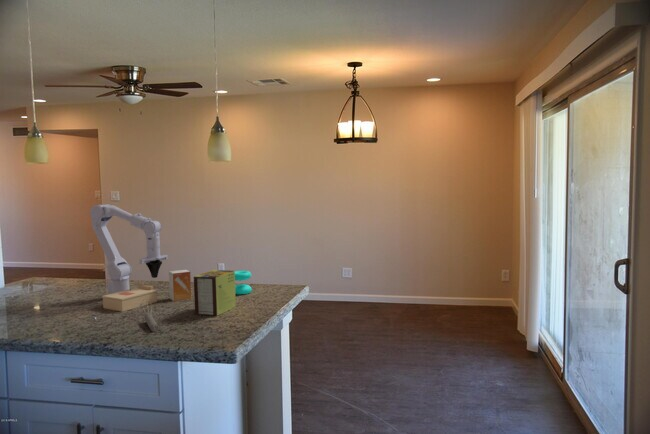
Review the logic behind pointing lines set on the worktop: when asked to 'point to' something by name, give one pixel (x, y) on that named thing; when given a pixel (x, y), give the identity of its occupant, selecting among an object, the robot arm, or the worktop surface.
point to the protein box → (214, 292)
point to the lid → (131, 293)
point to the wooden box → (129, 302)
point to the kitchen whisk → (149, 319)
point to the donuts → (242, 287)
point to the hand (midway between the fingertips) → (154, 277)
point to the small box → (180, 285)
